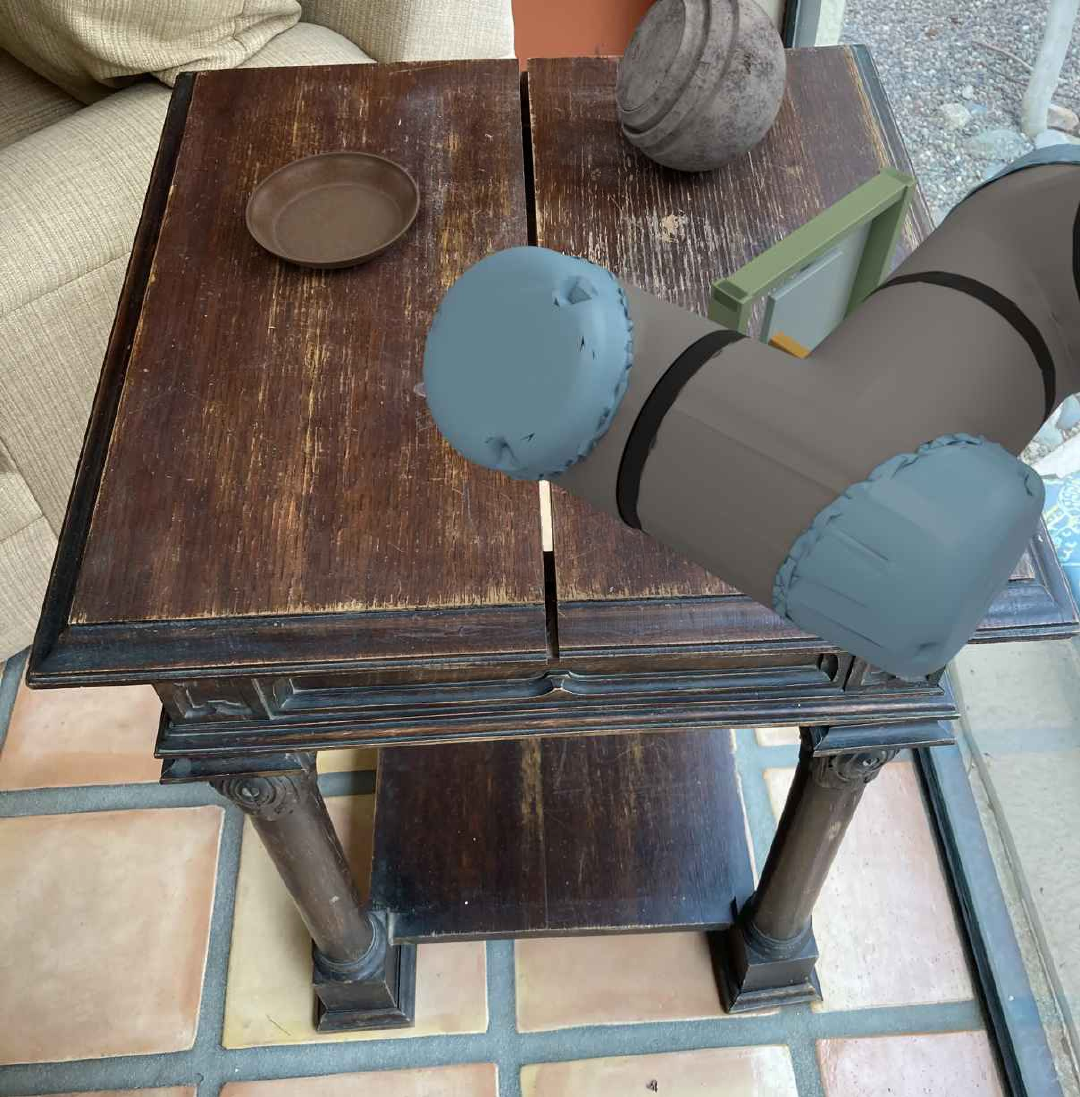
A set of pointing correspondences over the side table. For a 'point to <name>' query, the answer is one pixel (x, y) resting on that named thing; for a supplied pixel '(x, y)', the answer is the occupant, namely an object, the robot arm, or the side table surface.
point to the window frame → (849, 225)
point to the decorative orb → (701, 82)
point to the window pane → (800, 308)
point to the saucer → (333, 209)
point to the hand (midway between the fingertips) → (843, 457)
